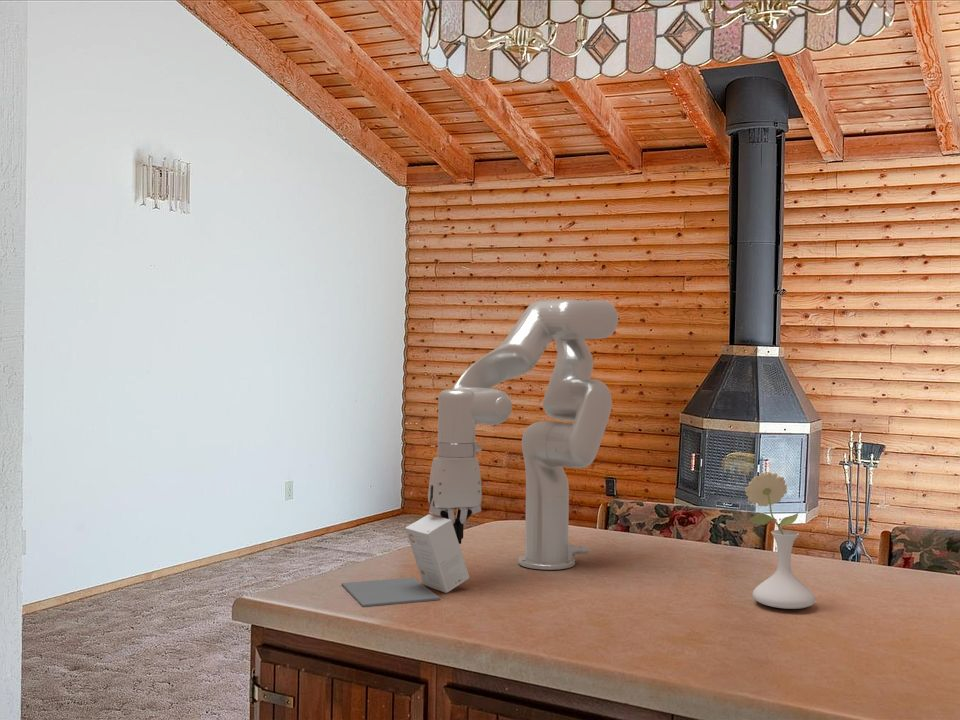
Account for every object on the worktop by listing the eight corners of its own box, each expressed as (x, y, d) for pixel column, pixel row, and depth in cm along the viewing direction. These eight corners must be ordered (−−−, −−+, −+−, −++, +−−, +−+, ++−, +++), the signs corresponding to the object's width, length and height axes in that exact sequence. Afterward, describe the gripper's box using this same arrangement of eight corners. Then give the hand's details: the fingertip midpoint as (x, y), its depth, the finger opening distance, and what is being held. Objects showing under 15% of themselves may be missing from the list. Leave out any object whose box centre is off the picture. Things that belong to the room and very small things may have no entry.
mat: (413, 579, 195) (413, 577, 195) (440, 599, 180) (440, 597, 179) (341, 585, 190) (341, 583, 190) (362, 607, 174) (362, 604, 174)
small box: (470, 578, 187) (452, 519, 184) (446, 594, 184) (427, 534, 181) (446, 570, 194) (428, 513, 191) (422, 585, 190) (403, 527, 187)
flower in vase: (815, 601, 181) (817, 470, 181) (816, 616, 171) (818, 478, 170) (745, 594, 186) (746, 467, 185) (741, 609, 175) (743, 474, 175)
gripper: (484, 448, 196) (482, 537, 196) (414, 450, 190) (413, 541, 190) (498, 452, 189) (496, 544, 189) (426, 454, 183) (425, 548, 183)
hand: (454, 542), depth 189 cm, fingers closed
